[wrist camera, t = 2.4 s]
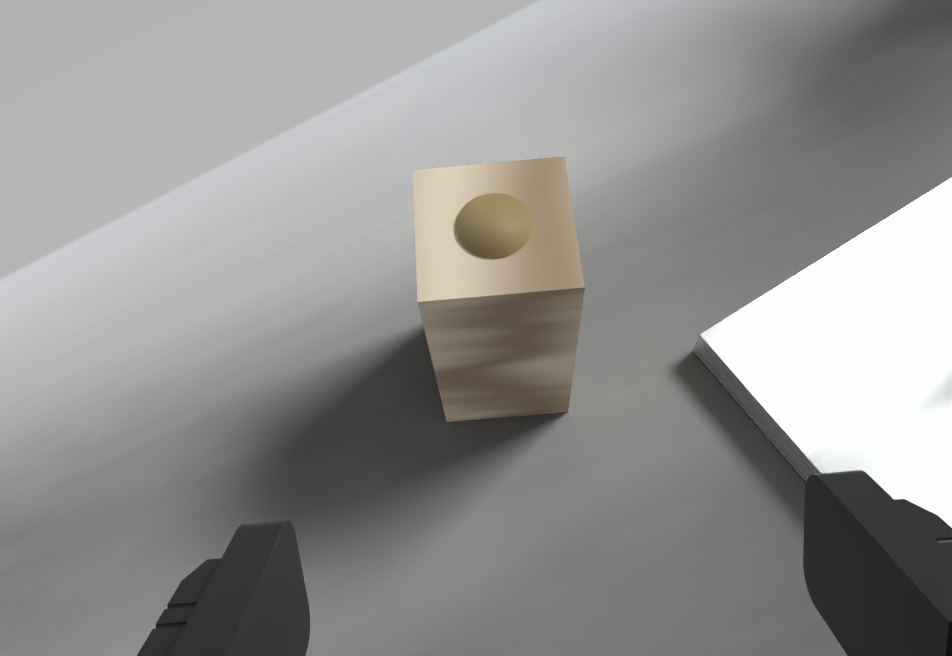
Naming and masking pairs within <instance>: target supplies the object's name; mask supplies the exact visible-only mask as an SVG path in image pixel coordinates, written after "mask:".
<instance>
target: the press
mask: <svg viewBox="0 0 952 656" xmlns="http://www.w3.org/2000/svg"><path fill="white" fill-rule="evenodd" d="M693 352H694V353H695V354H696V355H697V356H698V357H699V359H700V360H701V361H702V362H703V363H704V364H705V366H706V367H707V368H708V369H709V370H710V371H711V373H712V374H713V375H714V376H715V377H716V378H717V380H718V381H719V382H720V383H721V384H722V385H723V387H724V388H725V389H726V390H727V391H728V392H729V394H730V395H731V396H732V397H733V398H734V399H735V400H736V402H737V403H738V404H739V405H740V406H741V407H742V409H743V410H744V411H745V412H746V413H747V414H748V416H749V417H750V418H751V419H752V420H753V421H754V423H755V424H756V425H757V426H758V427H759V428H760V430H761V431H762V432H763V433H764V434H765V435H766V437H767V438H768V439H769V440H770V441H771V442H772V444H773V445H774V446H775V447H776V448H777V449H778V451H779V452H780V453H781V454H782V455H783V456H784V458H785V459H786V460H787V461H788V462H789V463H790V464H791V466H792V467H793V468H794V469H795V470H796V471H797V473H798V474H799V475H800V476H801V477H802V478H803V480H804V481H805V482H807V479H808V477H809V476H810V475H812V474H820V473H831V472H842V471H853V470H862V471H864V472H866V473H867V474H868V475H869V476H870V477H871V478H872V479H873V480H874V481H875V482H876V483H877V484H878V485H879V486H880V487H882V488H883V489H884V490H885V491H886V492H887V493H888V494H889V495H890V496H891V497H892V498H893V499H894V500H897V499H906V500H908V501H910V502H912V503H914V504H916V505H918V506H920V507H922V508H924V509H926V510H928V511H930V512H932V513H934V514H936V515H938V516H939V517H940V518H941V519H943V520H944V521H945V522H946V523H947V524H948V525H949V526H950V527H951V528H952V178H951V179H949V180H948V181H946V182H944V183H943V184H941V185H940V186H938V187H936V188H935V189H933V190H931V191H930V192H928V193H927V194H925V195H923V196H922V197H920V198H919V199H917V200H915V201H914V202H912V203H911V204H909V205H907V206H906V207H904V208H903V209H901V210H899V211H898V212H896V213H894V214H893V215H891V216H890V217H888V218H886V219H885V220H883V221H882V222H880V223H878V224H877V225H875V226H874V227H872V228H870V229H869V230H867V231H866V232H864V233H862V234H861V235H859V236H858V237H856V238H854V239H853V240H851V241H849V242H848V243H846V244H845V245H843V246H841V247H840V248H838V249H837V250H835V251H833V252H832V253H830V254H829V255H827V256H825V257H824V258H822V259H821V260H819V261H817V262H816V263H814V264H813V265H811V266H809V267H808V268H806V269H804V270H803V271H801V272H800V273H798V274H796V275H795V276H793V277H792V278H790V279H788V280H787V281H785V282H784V283H782V284H780V285H779V286H777V287H776V288H774V289H772V290H771V291H769V292H768V293H766V294H764V295H763V296H761V297H759V298H758V299H756V300H755V301H753V302H751V303H750V304H748V305H747V306H745V307H743V308H742V309H740V310H739V311H737V312H735V313H734V314H732V315H731V316H729V317H727V318H726V319H724V320H723V321H721V322H719V323H718V324H716V325H714V326H713V327H711V328H710V329H708V330H706V331H705V332H703V333H702V334H700V335H699V338H698V340H697V342H696V345H695V347H694V349H693Z"/></svg>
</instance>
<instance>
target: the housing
mask: <svg viewBox="0 0 952 656" xmlns="http://www.w3.org/2000/svg"><path fill="white" fill-rule="evenodd" d="M413 195H414V221H415V248H416V274H417V300H418V306H419V310H420V314H421V318H422V322H423V326H424V330H425V335H426V339H427V343H428V347H429V351H430V355H431V359H432V363H433V367H434V372H435V376H436V380H437V384H438V388H439V392H440V396H441V400H442V405H443V409H444V413H445V417H446V421H447V422H454V421H466V420H478V419H490V418H502V417H514V416H526V415H538V414H549V413H561V412H568V408H569V401H570V393H571V386H572V379H573V371H574V364H575V356H576V349H577V342H578V334H579V327H580V319H581V312H582V304H583V297H584V290H585V286H584V279H583V273H582V266H581V260H580V253H579V247H578V241H577V234H576V228H575V221H574V215H573V208H572V202H571V196H570V189H569V183H568V176H567V170H566V163H565V157H555V158H543V159H532V160H521V161H510V162H498V163H487V164H476V165H465V166H454V167H442V168H431V169H420V170H413Z"/></svg>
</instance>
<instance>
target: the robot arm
mask: <svg viewBox="0 0 952 656" xmlns="http://www.w3.org/2000/svg"><path fill="white" fill-rule="evenodd" d="M803 564H804V574H805V580H806V584H807V588H808V591H809V594H810V597H811V599H812V601H813V603H814V605H815V607H816V608H817V610H818V611H819V613H820V614H821V616H822V617H823V619H824V620H825V622H826V623H827V625H828V627H829V628H830V630H831V631H832V633H833V634H834V636H835V637H836V639H837V640H838V642H839V643H840V645H841V646H842V648H843V649H844V651H845V652H846V654H847V655H848V656H952V528H951V527H950V526H949V525H948V524H947V523H946V522H945V521H944V520H943V519H941V518H940V517H939V516H938V515H936V514H934V513H932V512H930V511H928V510H926V509H924V508H922V507H920V506H918V505H916V504H914V503H912V502H910V501H908V500H906V499H897V500H894V499H893V498H892V497H891V496H890V495H889V494H888V493H887V492H886V491H885V490H884V489H883V488H882V487H880V486H879V485H878V484H877V483H876V482H875V481H874V480H873V479H872V478H871V477H870V476H869V475H868V474H867V473H866V472H864V471H862V470H853V471H842V472H831V473H820V474H812V475H810V476H809V477H808V479H807V482H806V486H805V515H804V558H803ZM309 635H310V612H309V604H308V598H307V593H306V588H305V583H304V577H303V572H302V567H301V561H300V556H299V551H298V546H297V540H296V535H295V531H294V528H293V526H292V524H291V522H290V521H288V520H287V521H276V522H265V523H254V524H243V525H240V526H239V528H238V529H237V531H236V533H235V534H234V536H233V538H232V540H231V542H230V544H229V546H228V547H227V549H226V551H225V553H224V555H223V557H222V558H221V559H210V560H206V561H205V562H204V563H203V564H201V565H200V566H199V567H198V568H197V569H195V570H194V571H193V572H192V573H191V574H190V575H188V576H187V577H186V578H185V579H184V580H182V581H181V583H180V585H179V586H178V588H177V590H176V591H175V593H174V595H173V596H172V598H171V600H170V601H169V603H168V609H165V610H164V611H163V613H162V615H161V616H160V618H159V620H158V621H157V623H156V629H153V630H152V631H151V633H150V635H149V636H148V638H147V640H146V641H145V643H144V645H143V646H142V648H141V650H140V651H139V653H138V655H137V656H305V655H306V651H307V648H308V643H309Z"/></svg>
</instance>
